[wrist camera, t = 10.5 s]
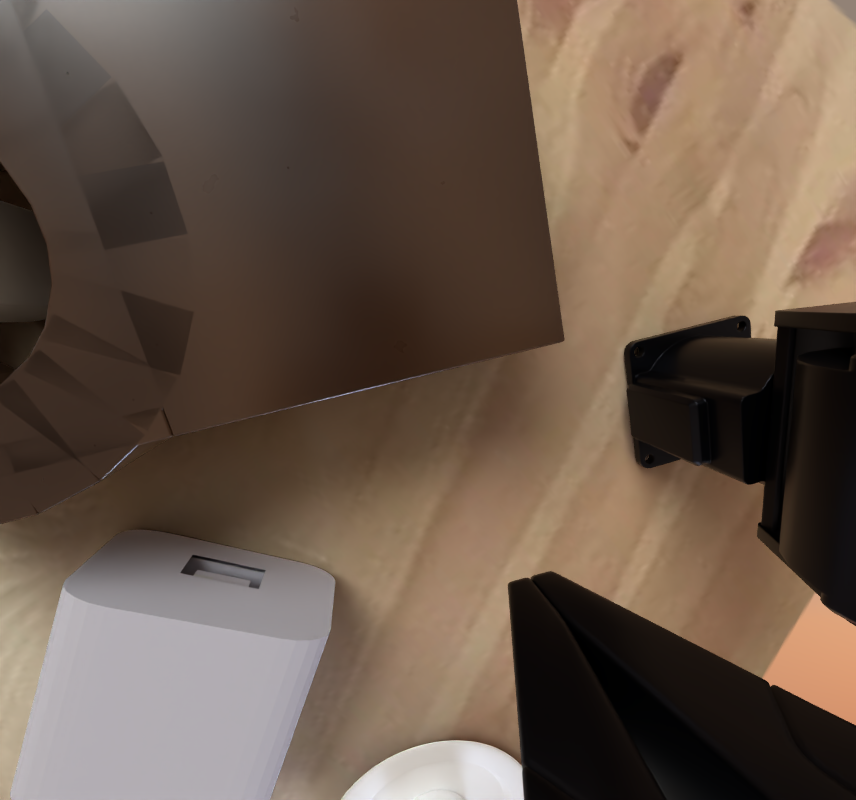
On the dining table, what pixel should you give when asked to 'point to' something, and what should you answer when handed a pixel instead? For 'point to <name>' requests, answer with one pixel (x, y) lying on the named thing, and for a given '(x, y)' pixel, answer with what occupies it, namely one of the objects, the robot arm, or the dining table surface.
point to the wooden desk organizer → (259, 214)
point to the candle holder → (442, 774)
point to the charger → (174, 673)
